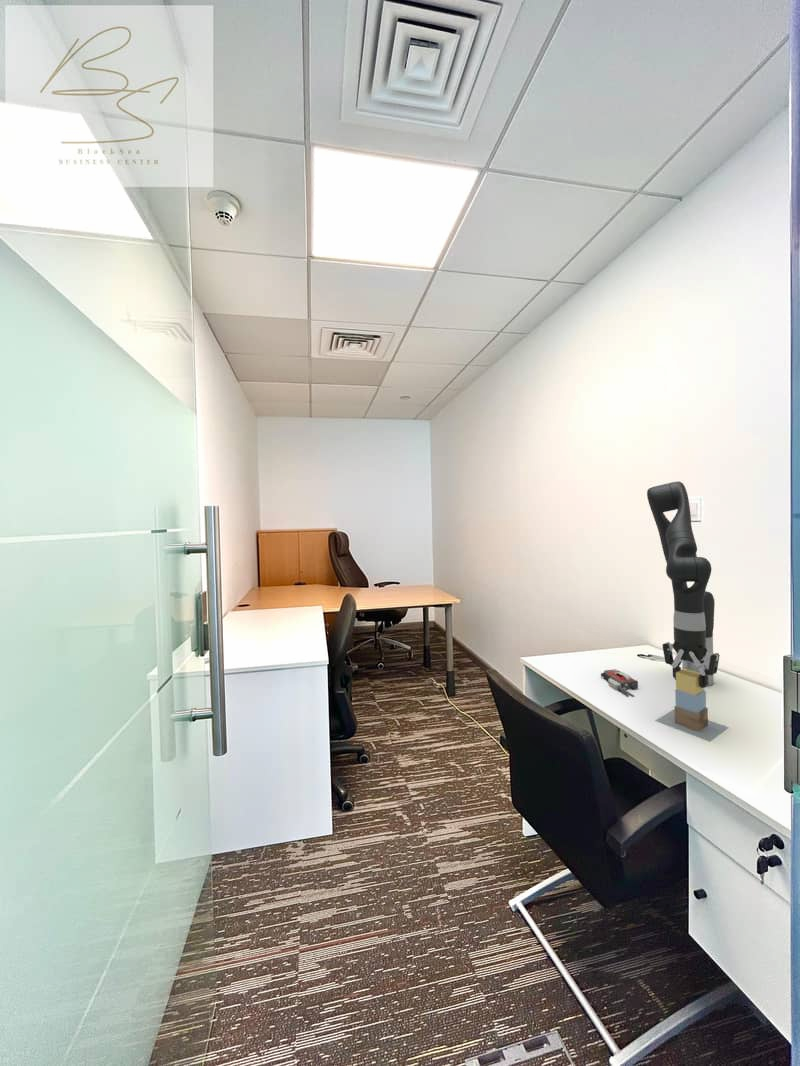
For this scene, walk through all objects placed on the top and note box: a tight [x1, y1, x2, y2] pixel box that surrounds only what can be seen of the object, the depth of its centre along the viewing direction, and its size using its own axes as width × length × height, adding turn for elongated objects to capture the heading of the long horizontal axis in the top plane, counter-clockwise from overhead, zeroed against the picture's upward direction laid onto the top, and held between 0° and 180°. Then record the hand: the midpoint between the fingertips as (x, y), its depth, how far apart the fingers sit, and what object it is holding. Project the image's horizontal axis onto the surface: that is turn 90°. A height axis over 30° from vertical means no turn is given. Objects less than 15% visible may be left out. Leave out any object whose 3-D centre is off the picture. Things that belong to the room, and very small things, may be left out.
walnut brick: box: [673, 705, 709, 731], centre depth 119 cm, size 6×6×5 cm
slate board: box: [655, 708, 730, 742], centre depth 119 cm, size 12×14×1 cm
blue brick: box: [674, 688, 707, 713], centre depth 119 cm, size 6×6×5 cm
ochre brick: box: [675, 668, 705, 695], centre depth 119 cm, size 5×5×5 cm
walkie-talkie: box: [600, 668, 639, 698], centre depth 148 cm, size 9×4×20 cm
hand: (690, 683), depth 119 cm, fingers open, 6 cm apart
